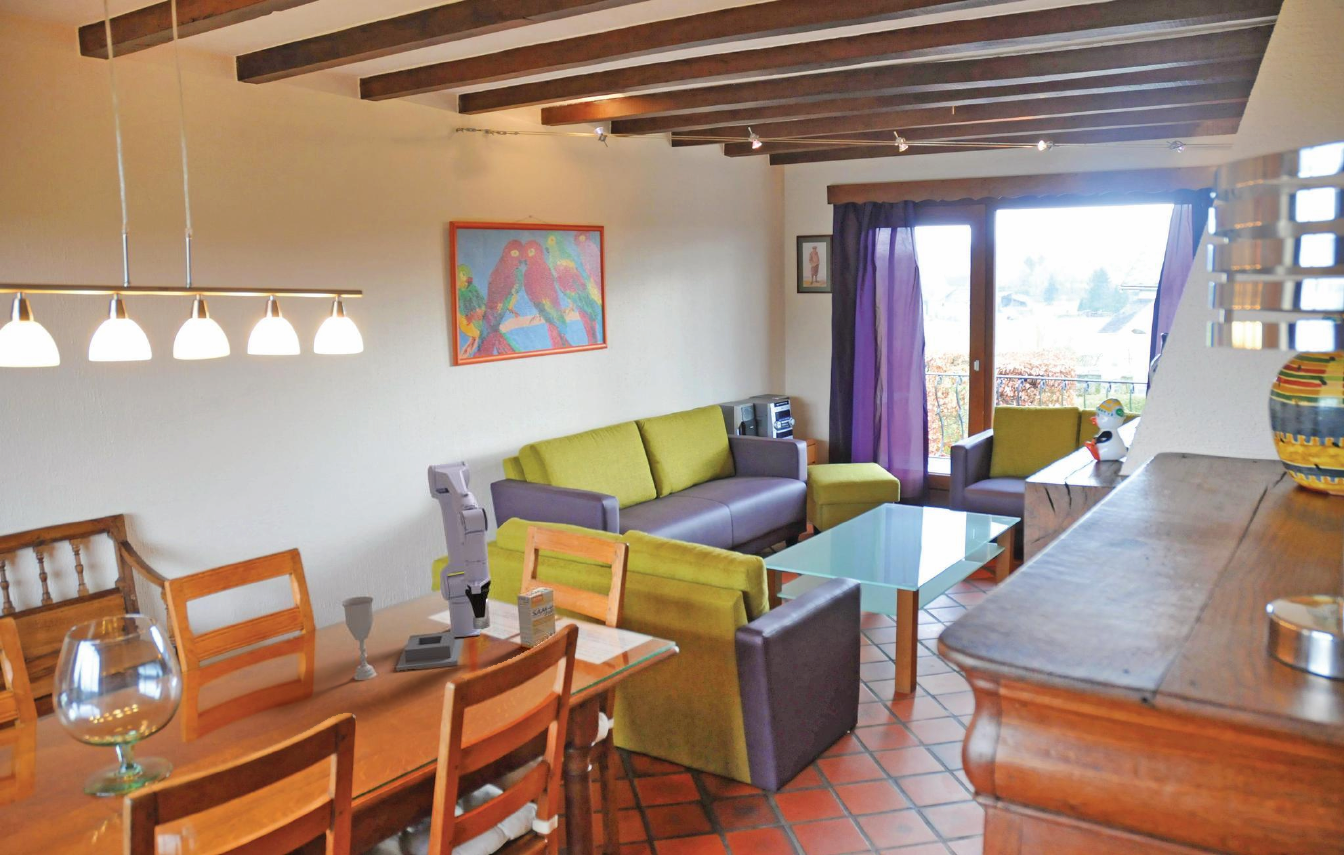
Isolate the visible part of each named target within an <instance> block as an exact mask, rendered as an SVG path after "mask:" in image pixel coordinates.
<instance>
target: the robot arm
mask: <svg viewBox="0 0 1344 855" xmlns="http://www.w3.org/2000/svg"><path fill="white" fill-rule="evenodd" d="M470 474H471V473H470V468H469V465H468V463H467V462H466V461H464V460H462V461H461V462H460V461H459V462H451V463H450V462H449V463H443V464H442V463H441V464H434V465H433V464H430V465H429V466H428V468H427V480H428V488H429V493H430V495H431V498H432V499H435V500H438V504H439V505H440V509H441V516H442V523H443V530H444V537H445V541H446V542H445V543H446V550H447V555H448V563H447V564H446V565H445V566H444V567H443V568H442V569H441V570H440V573H439V578H440V581H439V582H440V584H439V585H440V592H441V596H442V598H443V600H444V601H447V602H448V612H449V620H450V629H449V632H453V631H454V639H455V638H462V637H463V638H464V637H472V636H480V635H481V632H482V629H474V628H473V618H472V608H473V612H474V615H475V618H484V617H485V610H486V599H487V595H488V596H489V592H490V585H491V584H492V583H491V582H492V581H491V578H492V577H491V574H490V568H489V567H490V566H489V555H488V554H489V553H488V543H487V542H488V541H487V533H486V532H488V529H489V521H488V520H489V519H488V514H487V511H486V509H485V507H484V506H481V505H480V506H479V504H478V501H477V499H476V497H475V495H474V494H473V493H472V492H470V491H468V487H469V485H470V480H471V479H470V478H471V476H470ZM471 605H472V607H471Z"/></svg>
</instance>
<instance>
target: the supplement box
mask: <svg viewBox="0 0 1344 855" xmlns="http://www.w3.org/2000/svg"><path fill="white" fill-rule="evenodd" d="M516 600H517V601H516V602H517V612H518V613H517V614H518V625H519V626H518V627H519V636H520V637H519V638H520V639H519V640H520V646H521V647H523V648H528V649H531V648H533V647H534V646H537V645H538V644H540V643H541V642H543V641H545V640H546V639H548V638H549V637H550V636H552V635H553V634H555V633H556V634H557V630H556V616H555V615H556V614H555V602H554V601H555V600H554V588H549V587H543V586H540V587H537V588H534V589H532V590H531V589H530V590H529V591H526V592H523V593H520V594H516Z"/></svg>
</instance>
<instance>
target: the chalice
mask: <svg viewBox="0 0 1344 855" xmlns="http://www.w3.org/2000/svg"><path fill="white" fill-rule="evenodd" d="M373 601H374V598H373V597H372V596H356V597H355V596H354V597H351V598H347V599H346V598H345V599H344V600H342V601H341V605H342V606H343V608H344V617H345V624H346V627H347V629H348V631H349V632H350V634H351V635H352V637H353V638H354V640H356V641H359V648H358V650H359V651H360V655H359V658H360V659H361V664H360V665H359V666H357V668H356V671H355V674H354V677H353V679H354V680H356V681H367V680H370V679H374V678H375V677H376V676H377V675H378V674H377V673H376V670H375V668H374V667H373V666H372V665H371V664H369V663H367V657H368V654H366V649H367V646H366V645H365V640H367V639H368V638H369V635H370V632H371V631H372V630H371V629H372V626H373V622H374V614H373V607H372V604H373Z"/></svg>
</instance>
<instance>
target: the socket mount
mask: <svg viewBox="0 0 1344 855" xmlns="http://www.w3.org/2000/svg"><path fill="white" fill-rule="evenodd" d="M463 644H464V639H463V638H458V639H455V638H454V631H453V632H450V631H445V632H433V633H424V634H415V635H410V636H409V638H408V640H407V643H406V644H405V645H404V648H403V650H402V653H401V655H400V657H399V661H398V662H397V665H396V668H395V669H396V672H400V671H399V670H405V671H408V670H407V669H415V670H424V669H433V668H442V667H452V666H453V667H454V666H458V665H459V662H460V657H461V653H462V650H463Z"/></svg>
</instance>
